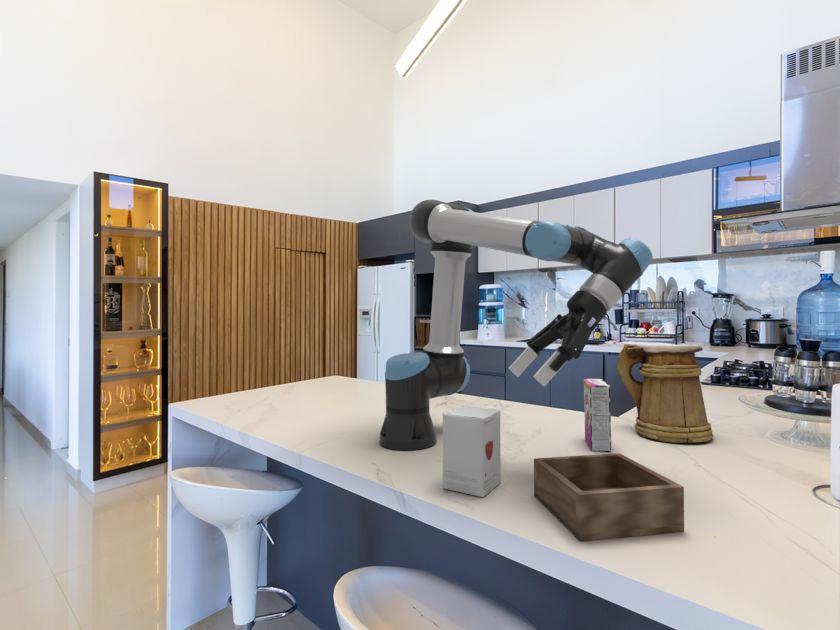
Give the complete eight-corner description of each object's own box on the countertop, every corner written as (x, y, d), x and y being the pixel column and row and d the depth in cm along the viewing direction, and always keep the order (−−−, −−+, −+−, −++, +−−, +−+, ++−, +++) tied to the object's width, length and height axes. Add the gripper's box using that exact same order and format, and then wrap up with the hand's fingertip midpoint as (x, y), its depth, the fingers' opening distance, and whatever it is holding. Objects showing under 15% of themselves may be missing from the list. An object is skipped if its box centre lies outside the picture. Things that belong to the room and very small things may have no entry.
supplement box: (484, 498, 85) (483, 418, 85) (441, 489, 90) (440, 413, 90) (502, 483, 93) (501, 409, 93) (462, 475, 98) (461, 404, 98)
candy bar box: (583, 439, 124) (582, 378, 124) (603, 440, 123) (602, 378, 123) (590, 451, 113) (589, 384, 113) (611, 452, 112) (611, 385, 112)
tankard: (714, 449, 114) (713, 348, 113) (612, 436, 126) (611, 345, 126) (712, 432, 129) (711, 343, 129) (621, 422, 141) (621, 341, 141)
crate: (580, 541, 69) (579, 494, 69) (534, 495, 86) (533, 458, 86) (684, 531, 72) (683, 486, 72) (619, 489, 89) (619, 453, 89)
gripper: (642, 313, 83) (566, 400, 81) (575, 314, 108) (515, 380, 105) (615, 284, 82) (537, 371, 80) (553, 291, 107) (493, 358, 105)
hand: (524, 377), depth 93 cm, fingers open, 13 cm apart
